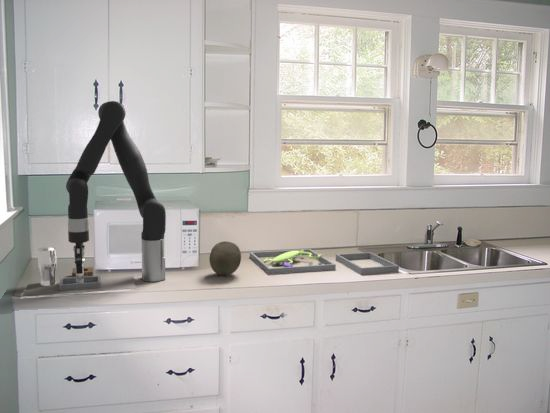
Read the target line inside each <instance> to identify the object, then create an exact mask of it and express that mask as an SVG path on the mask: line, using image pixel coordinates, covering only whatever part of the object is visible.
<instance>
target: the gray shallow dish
mask: <svg viewBox="0 0 550 413" xmlns="http://www.w3.org/2000/svg"><path fill="white" fill-rule="evenodd" d="M368 259H369V260H372V261H373V262H375V261H376V262H375V263H377V262H378V263H377V264H379V263H380V264H379V265H380V266H368V267H362V266H360V265H358V264H356V263H354V262H352V260H353V261H354V260H368ZM335 261H336V262H338V263H339V264H341V265H343V266H345V267H346V268H348V269H350V270H351V271H353V272H355V273H357V274H358V275H360V276H364V275H365V276H367V275H378V274H379V273H382V274H391V273H390V272H396V273H399V272H398V271H400V265H398V264H396V263H395V262H392V261H390V260H388V259H385V258H383V257H381V256H379V255H377V254H375V253H373V252H371V251H367V252H352V253H351V252H350V253H337V254H335ZM381 264H382V265H381ZM383 265H384V266H383Z"/></svg>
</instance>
